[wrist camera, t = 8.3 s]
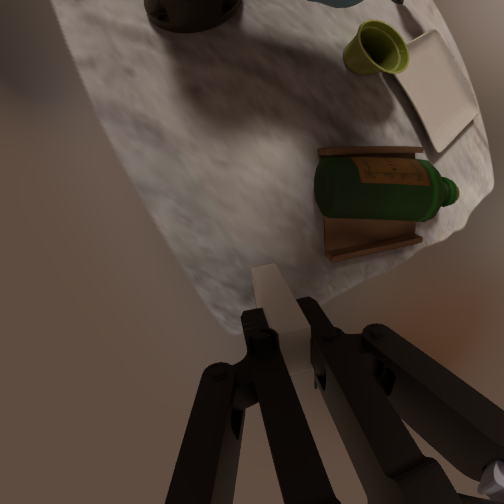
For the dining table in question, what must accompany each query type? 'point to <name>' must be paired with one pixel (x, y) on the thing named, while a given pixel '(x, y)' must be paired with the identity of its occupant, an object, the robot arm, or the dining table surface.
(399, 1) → the sundae
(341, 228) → the cradle
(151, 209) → the dining table surface
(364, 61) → the plant pot
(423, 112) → the salad plate
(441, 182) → the bottle
